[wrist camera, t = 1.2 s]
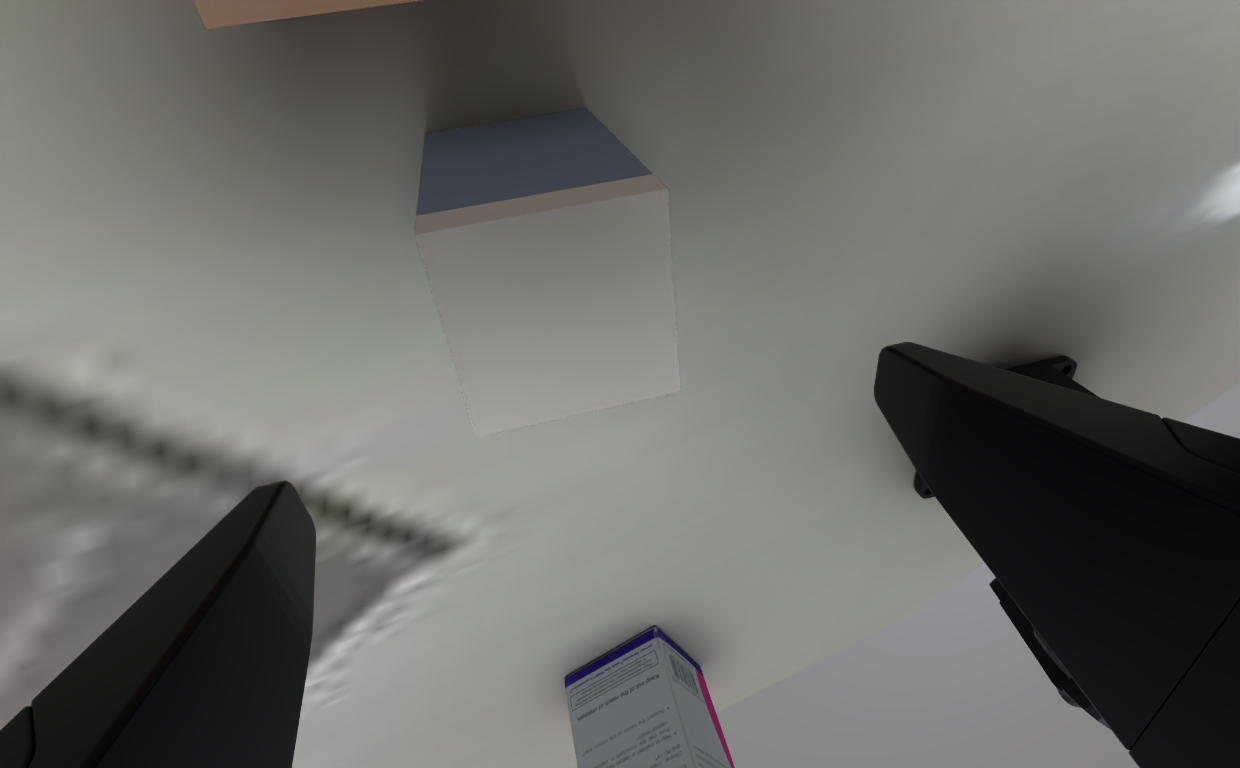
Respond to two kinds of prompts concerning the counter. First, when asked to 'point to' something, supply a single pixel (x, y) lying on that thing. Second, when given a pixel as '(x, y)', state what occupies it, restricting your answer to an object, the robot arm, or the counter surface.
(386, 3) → the bin
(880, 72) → the counter surface
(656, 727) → the supplement box
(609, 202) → the block
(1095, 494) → the robot arm
